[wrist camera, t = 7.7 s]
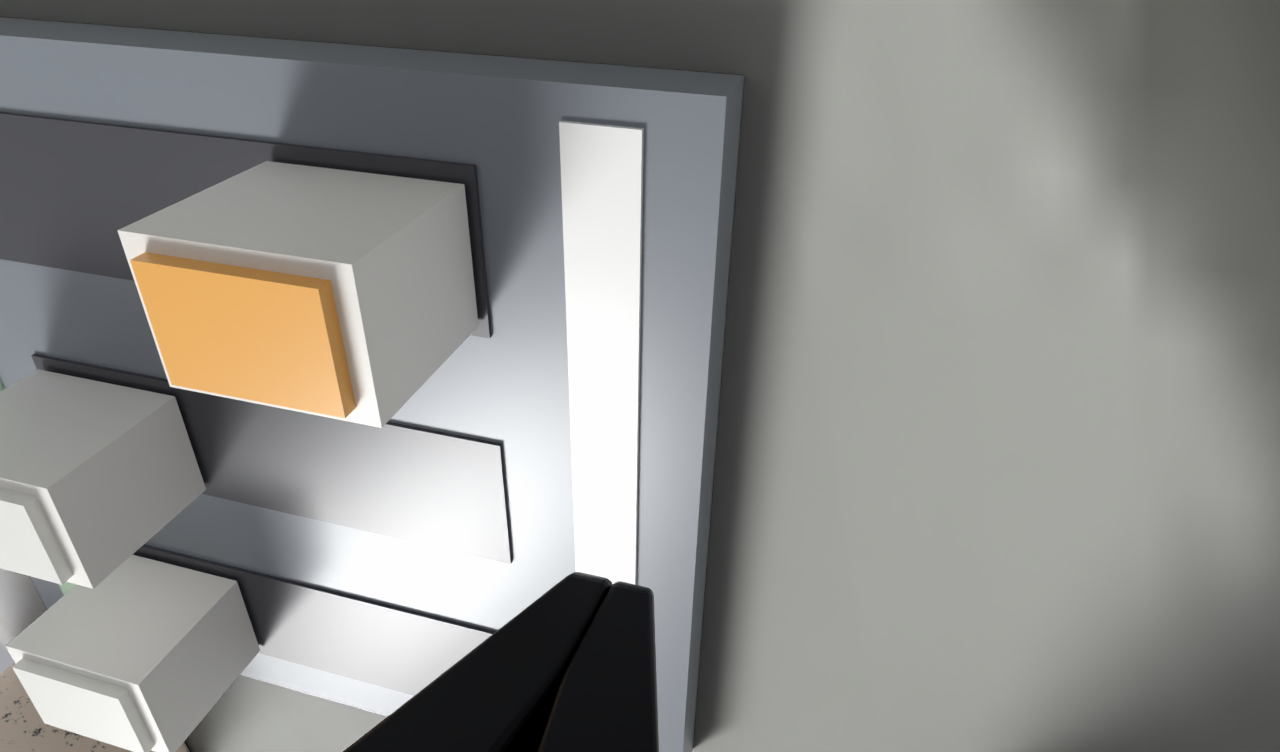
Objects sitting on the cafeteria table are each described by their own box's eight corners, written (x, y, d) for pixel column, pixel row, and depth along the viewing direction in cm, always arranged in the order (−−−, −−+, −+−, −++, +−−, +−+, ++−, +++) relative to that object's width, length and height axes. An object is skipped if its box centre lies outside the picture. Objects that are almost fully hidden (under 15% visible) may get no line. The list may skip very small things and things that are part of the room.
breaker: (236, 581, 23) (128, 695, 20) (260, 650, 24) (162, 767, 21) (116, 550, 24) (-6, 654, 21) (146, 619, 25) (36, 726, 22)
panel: (743, 74, 14) (725, 97, 13) (692, 750, 24) (678, 802, 22) (-184, 2, 19) (-267, 13, 18) (90, 589, 29) (50, 624, 27)
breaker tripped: (464, 184, 15) (339, 272, 11) (478, 326, 16) (371, 438, 13) (266, 160, 16) (101, 237, 12) (297, 297, 17) (156, 395, 14)
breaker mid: (174, 396, 20) (34, 498, 17) (206, 489, 21) (82, 598, 18) (38, 369, 21) (-120, 460, 17) (77, 460, 22) (-62, 559, 19)
